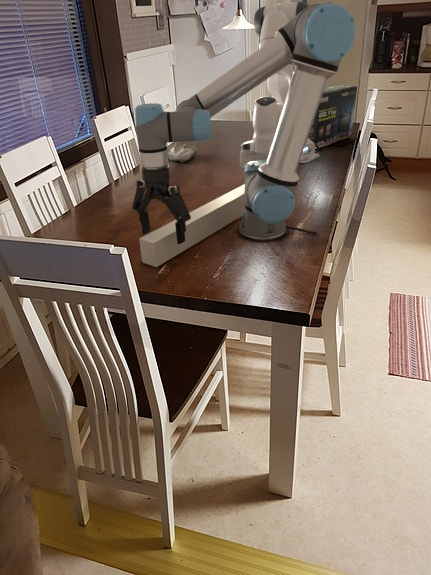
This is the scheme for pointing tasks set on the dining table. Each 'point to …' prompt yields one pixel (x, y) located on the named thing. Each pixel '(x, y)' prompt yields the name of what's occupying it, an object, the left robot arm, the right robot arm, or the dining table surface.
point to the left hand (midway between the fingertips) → (163, 237)
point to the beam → (192, 228)
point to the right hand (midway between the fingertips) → (264, 182)
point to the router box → (334, 114)
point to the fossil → (181, 152)
